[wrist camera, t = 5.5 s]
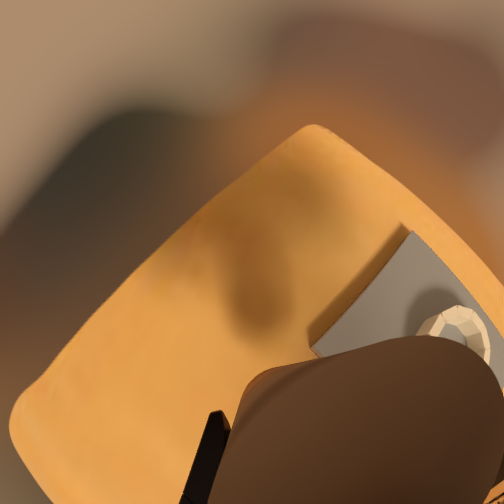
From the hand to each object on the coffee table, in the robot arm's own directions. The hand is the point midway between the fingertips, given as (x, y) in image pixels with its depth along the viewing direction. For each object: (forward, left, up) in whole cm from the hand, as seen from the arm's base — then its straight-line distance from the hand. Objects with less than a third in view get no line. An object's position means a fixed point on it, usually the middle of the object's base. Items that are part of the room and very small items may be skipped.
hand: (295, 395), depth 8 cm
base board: (-11, -12, -13) cm, 21 cm away
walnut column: (-1, +1, -7) cm, 7 cm away
